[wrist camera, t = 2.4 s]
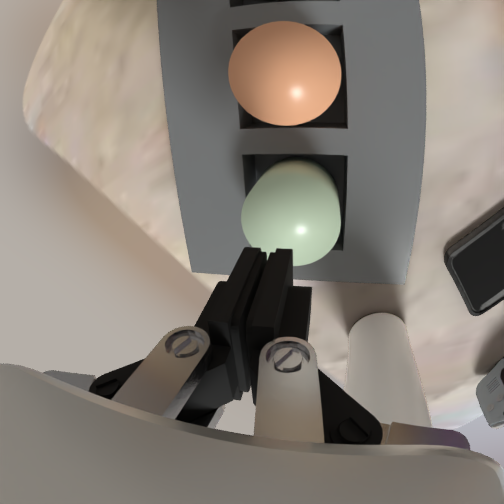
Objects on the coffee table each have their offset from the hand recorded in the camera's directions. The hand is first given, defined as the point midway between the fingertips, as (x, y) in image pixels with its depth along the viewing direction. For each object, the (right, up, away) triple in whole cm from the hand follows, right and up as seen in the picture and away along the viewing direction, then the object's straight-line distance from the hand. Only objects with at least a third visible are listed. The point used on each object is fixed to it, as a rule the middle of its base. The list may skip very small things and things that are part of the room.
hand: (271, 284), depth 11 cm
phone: (+21, +3, +7) cm, 23 cm away
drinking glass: (+10, -6, +14) cm, 18 cm away
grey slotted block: (+2, +12, +6) cm, 13 cm away
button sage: (+2, +4, +7) cm, 8 cm away
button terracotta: (+1, +10, +3) cm, 11 cm away
